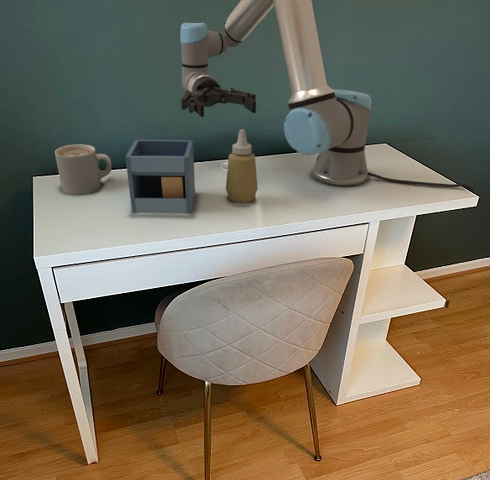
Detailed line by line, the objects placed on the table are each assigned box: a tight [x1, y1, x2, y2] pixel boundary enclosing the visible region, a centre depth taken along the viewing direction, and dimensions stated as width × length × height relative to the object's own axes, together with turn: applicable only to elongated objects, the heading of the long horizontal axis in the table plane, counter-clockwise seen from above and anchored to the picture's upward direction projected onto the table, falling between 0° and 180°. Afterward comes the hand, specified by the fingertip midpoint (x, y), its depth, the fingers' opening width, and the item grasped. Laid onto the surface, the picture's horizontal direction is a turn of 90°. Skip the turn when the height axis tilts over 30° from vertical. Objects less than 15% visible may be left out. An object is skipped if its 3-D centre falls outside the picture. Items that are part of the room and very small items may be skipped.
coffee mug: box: [54, 143, 112, 196], centre depth 131 cm, size 13×10×10 cm
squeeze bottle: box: [225, 129, 258, 204], centre depth 123 cm, size 8×8×18 cm
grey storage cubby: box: [125, 139, 196, 214], centre depth 121 cm, size 14×12×14 cm
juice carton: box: [161, 176, 186, 198], centre depth 122 cm, size 5×5×8 cm
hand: (228, 109), depth 124 cm, fingers open, 13 cm apart
